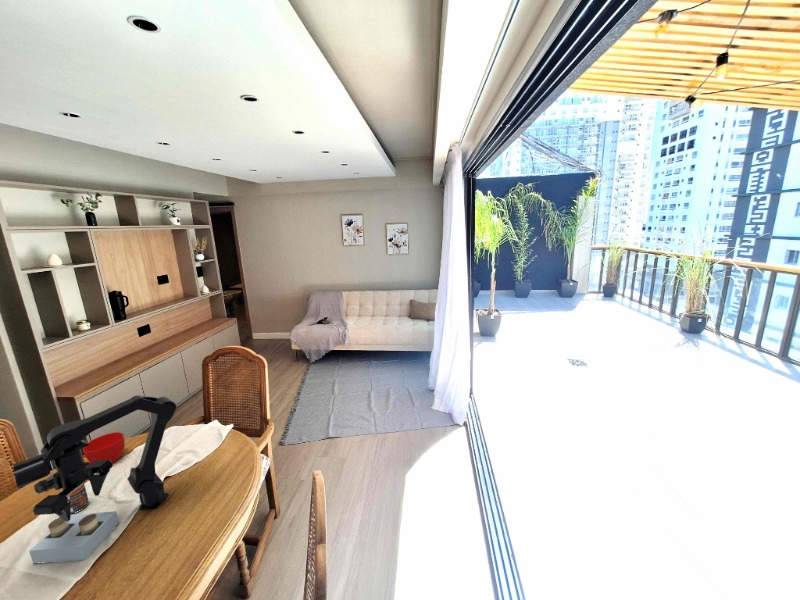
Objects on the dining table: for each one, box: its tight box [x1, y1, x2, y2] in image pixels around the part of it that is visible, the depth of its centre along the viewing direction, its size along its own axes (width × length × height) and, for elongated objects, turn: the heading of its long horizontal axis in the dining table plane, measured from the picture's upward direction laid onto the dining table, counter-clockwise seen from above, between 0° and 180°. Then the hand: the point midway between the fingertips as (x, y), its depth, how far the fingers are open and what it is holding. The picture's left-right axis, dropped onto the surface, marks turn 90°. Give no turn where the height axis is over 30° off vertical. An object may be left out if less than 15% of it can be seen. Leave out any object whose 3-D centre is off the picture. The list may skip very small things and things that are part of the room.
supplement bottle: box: [60, 483, 90, 514], centre depth 109 cm, size 6×6×11 cm
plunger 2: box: [78, 514, 99, 536], centre depth 96 cm, size 4×4×4 cm
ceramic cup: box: [82, 431, 126, 466], centre depth 131 cm, size 13×17×10 cm
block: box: [28, 510, 120, 564], centre depth 97 cm, size 15×12×5 cm
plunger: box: [47, 516, 70, 538], centre depth 96 cm, size 4×4×4 cm
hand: (83, 507), depth 96 cm, fingers open, 9 cm apart
